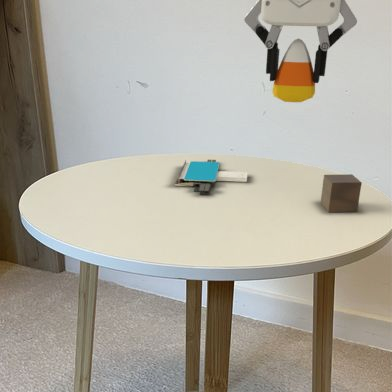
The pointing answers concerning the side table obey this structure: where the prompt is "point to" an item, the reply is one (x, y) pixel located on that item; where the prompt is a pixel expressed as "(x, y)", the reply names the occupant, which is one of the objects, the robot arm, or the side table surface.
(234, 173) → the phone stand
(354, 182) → the walnut block
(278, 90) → the candy corn
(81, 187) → the side table surface
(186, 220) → the side table surface
